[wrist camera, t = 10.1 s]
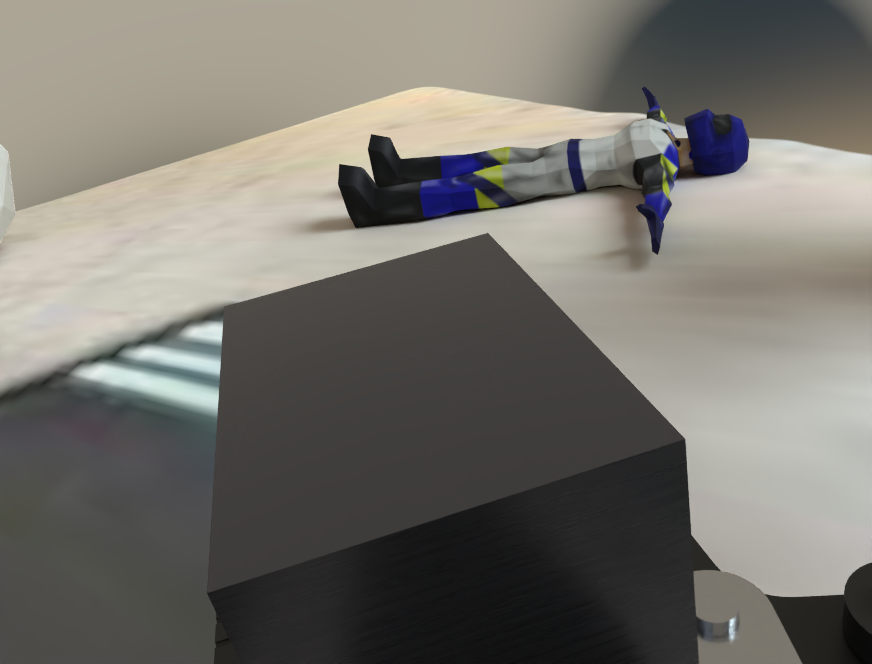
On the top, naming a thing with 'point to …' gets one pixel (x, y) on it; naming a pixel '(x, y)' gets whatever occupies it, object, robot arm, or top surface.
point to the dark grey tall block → (442, 478)
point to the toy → (544, 171)
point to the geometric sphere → (5, 193)
